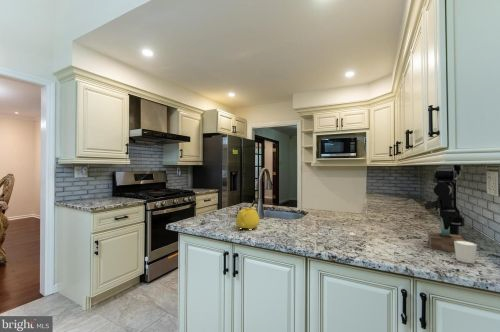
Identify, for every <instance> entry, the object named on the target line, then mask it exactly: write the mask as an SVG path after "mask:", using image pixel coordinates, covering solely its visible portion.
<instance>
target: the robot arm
mask: <svg viewBox="0 0 500 332" xmlns="http://www.w3.org/2000/svg"><path fill="white" fill-rule="evenodd" d="M462 171H463V164H462V165H441V164H440V166H438V167H436V169H435V170H434V172H433V180H432V183H434V184H435V183H436V185H435V186H434V187H433V193H434V195H436V196H435V199H431V200H427V201H424V202H422V205H423V207H424V209H425V211H428V210H432V209H434V211H435V213H436V214H437V215H438V216H439V217H440V218H441V217H442V220H443V224H444V229H446V230H448V228H449V226H450V234H454V235H460V227H465V218H464V216H463V214H462V212H461V209H460V208H459V207H458V178H459V177H460V176H461V174H462ZM460 236H461V235H460Z"/></svg>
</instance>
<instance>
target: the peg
mask: <svg viewBox="0 0 500 332" xmlns="http://www.w3.org/2000/svg"><path fill="white" fill-rule="evenodd" d="M440 223H441V224H440V227H441V229H440V231H441V232H440V233H441V234H444V235H450V226H449V228H448V230H446V229H444V224H443V220H442V217H440Z"/></svg>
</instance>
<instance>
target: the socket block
mask: <svg viewBox="0 0 500 332" xmlns="http://www.w3.org/2000/svg"><path fill="white" fill-rule="evenodd" d="M427 232H428V234H427V237H428V239H427V240H428V241H427V242H428V244H429V248H430V249H432V250H437V251H444V252H451V253H452V252H453V253H455V246H454V241H466V240H465V239H464V238H463V237H462V236H461V235H454V234H450V235H444V234H441V232H434V231H427Z"/></svg>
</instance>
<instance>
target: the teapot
mask: <svg viewBox="0 0 500 332" xmlns="http://www.w3.org/2000/svg"><path fill="white" fill-rule="evenodd" d="M260 223H261V222H260V216H259V214H258V212H257V210H256V209H255V206H251V208H250V207H245V209H244V208H243V209H240V210H239V211H238V213H237V215H236V219H235V225H236V226H237V228H243V229H248V230H249V229H256V228H257V227H258V226H259V225H260ZM255 227H256V228H255Z"/></svg>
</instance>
